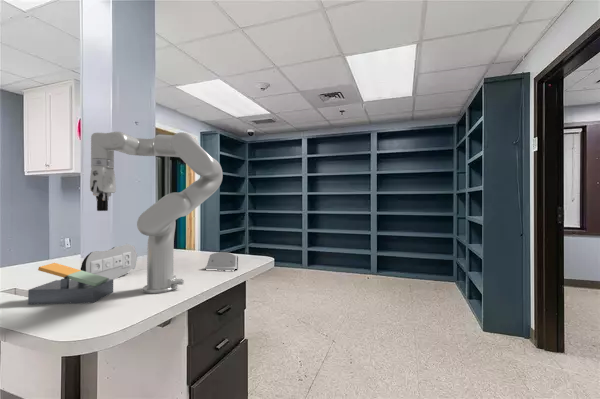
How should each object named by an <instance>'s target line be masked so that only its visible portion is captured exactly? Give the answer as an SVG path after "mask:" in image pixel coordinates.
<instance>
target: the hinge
mask: <svg viewBox="0 0 600 399" xmlns="http://www.w3.org/2000/svg"><path fill="white" fill-rule="evenodd" d="M205 269H217V270H235V269H238V270H239V257H238V255H237V254H234V253H231V252H226V251H220V252H215V253H211V254H210V255H209V256H208V259H207V264H206V266H205ZM205 269H204V270H205ZM235 271H236V270H235Z"/></svg>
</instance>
